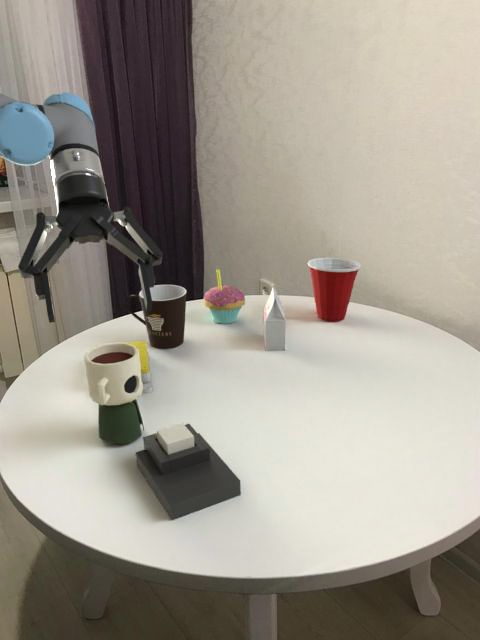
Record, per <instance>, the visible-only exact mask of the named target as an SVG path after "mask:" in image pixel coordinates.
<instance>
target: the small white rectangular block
mask: <svg viewBox="0 0 480 640" xmlns="http://www.w3.org/2000/svg"><path fill="white" fill-rule="evenodd" d="M156 433H157V438H158V443H159V444H160V445H161V447H162V448H163V449H164V451H165V452H166V453H167V455H169V454H172V453H176V452H179V451H182V450H185V449H188V448H191V447H194V436H193V435H192V433H191V432H190V431H189V430H188V429H187V427H186V426H185V423H183V422H181V423H178V424H173V425H171V426H168V427H164V428H161V429H157V430H156Z"/></svg>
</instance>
